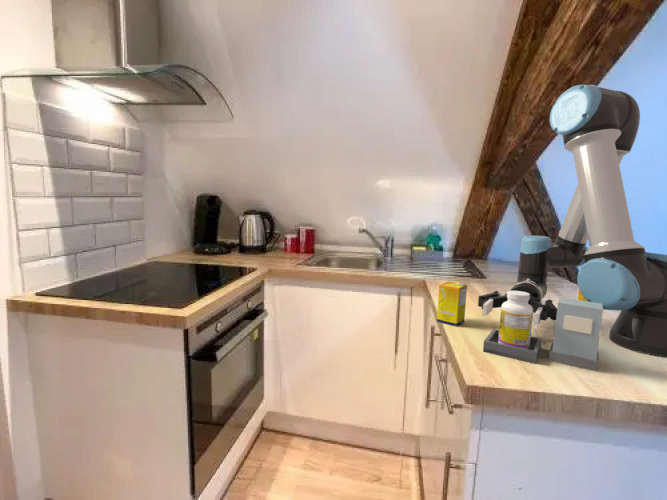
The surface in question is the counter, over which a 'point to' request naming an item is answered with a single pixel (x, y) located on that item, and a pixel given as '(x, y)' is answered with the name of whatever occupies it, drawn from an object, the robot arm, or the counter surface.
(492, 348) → the tray
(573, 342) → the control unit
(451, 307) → the supplement box
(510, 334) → the supplement bottle
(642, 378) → the counter surface
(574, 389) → the counter surface
